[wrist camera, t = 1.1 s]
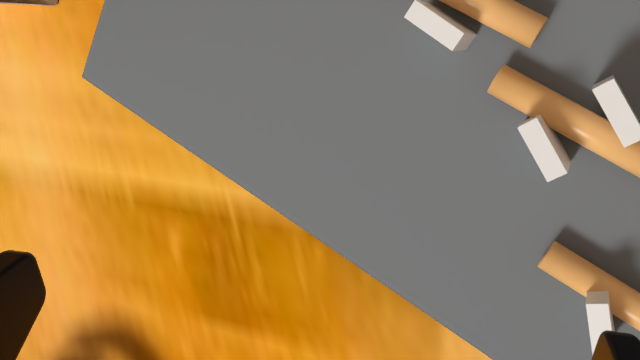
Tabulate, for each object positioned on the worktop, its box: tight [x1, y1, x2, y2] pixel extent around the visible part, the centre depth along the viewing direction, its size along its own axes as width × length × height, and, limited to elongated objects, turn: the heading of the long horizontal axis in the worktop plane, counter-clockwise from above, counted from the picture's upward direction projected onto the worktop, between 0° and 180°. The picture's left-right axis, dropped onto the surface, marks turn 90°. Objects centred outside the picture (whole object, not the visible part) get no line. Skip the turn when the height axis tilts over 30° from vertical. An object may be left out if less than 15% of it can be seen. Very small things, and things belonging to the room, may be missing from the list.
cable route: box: [404, 0, 640, 355], centre depth 18 cm, size 16×5×2 cm, turn 30°
